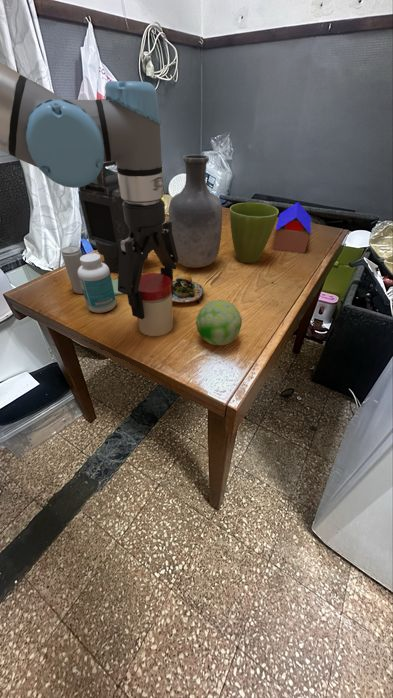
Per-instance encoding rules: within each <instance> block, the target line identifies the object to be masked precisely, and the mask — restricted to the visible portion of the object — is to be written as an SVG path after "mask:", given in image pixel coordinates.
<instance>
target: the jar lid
mask: <svg viewBox="0 0 393 698" xmlns="http://www.w3.org/2000/svg"><path fill="white" fill-rule="evenodd" d="M132 287H133V285H132ZM138 290H139V291H141V295H142V300H145V301H157V300H161V299H164V298H166V297H168V296H169V295H170V294H171V292H172V281H171V279H170V278H169V277H168V276H166V275H164V274H161V272H160V273H158V272H148V273H142V275H141V279H140V283H139V288H138Z"/></svg>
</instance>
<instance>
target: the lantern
mask: <svg viewBox="0 0 393 698" xmlns="http://www.w3.org/2000/svg"><path fill="white" fill-rule="evenodd" d="M112 166H117V164H116V161H111V162H106V161H105V162H103V167H102V169H101V171H100V173H99V175H98V176H97V178H96V179H95V180H94V181H93V182H91V183H90V184H88V185H86V186H83V187H79V190H78V191H77V193H78V197H79V201H80V206H81V210H82V214H83V219H84V222H85V227H86V232H87V236H88V239H89V240H91V241H94V242H95V246H96V252H97V254H99V255H100V256H103V261H104V262H103V263H104V264H106V265H107V266H108V268H109V270H110V272H113V273H118V271H119V249H118V244H117V242H118V240H119V239H122V240H125V239H127V238H129V231H130V230H129V227H128V225H127V224H126V223H125V219H124V213H123V206H122V203H123V201H124V200H123V199H122V198H121V194H120V186H119V179H118V173H116V174H112V175H108V176H107V174H106V173H107V171H106V168H109V167H112ZM137 253H138V254H142V253H141V252H138V251H137Z"/></svg>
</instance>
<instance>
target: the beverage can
mask: <svg viewBox="0 0 393 698" xmlns="http://www.w3.org/2000/svg"><path fill="white" fill-rule="evenodd" d="M60 251H61V256H62V259H63V263H64V266H65V269H66V272H67V275H68V278H69V281H70V284H71V287H72V291H73V292H74V293H75V294H78V295H84V294H83V290H82V287H81V283H80V280H79V277H78V269H79V267H80V266H82V264H81V262H80V257H81V256H83V253H82V250H81V247H79V246H77V245H68V246H65V247H63V248H61V250H60Z"/></svg>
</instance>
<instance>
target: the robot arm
mask: <svg viewBox="0 0 393 698" xmlns="http://www.w3.org/2000/svg"><path fill="white" fill-rule="evenodd" d="M104 93H105V94H104V98H100V99H77V98H75V99H73V98H64V97H62V96H61V95H58V94H57V93H54V92H53V91H51V90H50V89H48V88H46V87H45V86H43V85H41V84H39V83H37V82H36V81H34V80H33V79H30V78H28V77H26V76H24V75H22V73H20V72H19V71H17V70H15V69H13V68H11V67H10V66H8V65H6V64H5V63H3V62H1V61H0V151H1V152H3V153H5V154H8V155H10V156H11V157H14V158H16V159H18V160H19V161H22V162H24V163H26V164H28V165H31V166H34V167H35V168H38V169H39V171H40V172H42V174H43V175H45V176H46V177H47V178H48V179H49V180H50V181H52V182H54V183H55V184H58V185H59V186H62V187H66V188H71V189H73V188H74V189H79V188H80V187H83V186H86V185H88V184H90V183H91V182H93V181H94V180H95V179H97V176H98V175H99V173H100V171H101V169H102V167H103V162H105V161H106V162H111V161H116V164H117V165H116V172H117V174H118V179H119V186H120V194H121V198H122V199H123V200H124V201H123V203H122V206H123V213H124V219H125V223H126V224H127V225H128V227H129V230H130V231H129V238H127V239H125V240H122V239H119V240H118V242H117V244H118V249H119V271H118V272H117V279H118V291H119V292H121V293H124V294H123V295H127V301H128V305H129V306H130V309H131V315H132V316H133V317H135V318H136V319H137V318H140V319H144V310H143V303H142V295H141V291H139V290H138V288H139V283H140V279H141V275H142V274H143V271H144V270H143V269H144V265H145V261H146V260H148V258H149V254H150V253H151V252H154V253H155V255H156V257H157V259H158V260H159V262H160V264H161V265H162V267H160V274H164V275H166V276H168V277H169V278H170V279H171V281H172V296H173V281H174V270H177V268H178V265H177V264H179V263H178V255H177V251H176V247H175V243H174V239H173V235H172V223H171V222H169V220H166V207H165V201H164V199H163V198H164V195H165V194H164V180H163V179H164V178H163V162H162V144H161V143H162V141H161V140H162V139H161V125H162V123H161V120H160V110H159V109H160V108H159V100H158V94H157V93H158V92H157V90H156V87H155V86H154V85H153V84H152V83H150V82H148V81H135V80H134V81H132V80H131V81H129V80H127V81H125V80H123V81H122V80H121V81H120V80H119V81H118V80H109V81H107V82H105V84H104ZM137 251H138V252H141V253H142V254H138V253H137ZM132 285H133V287H132Z"/></svg>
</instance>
